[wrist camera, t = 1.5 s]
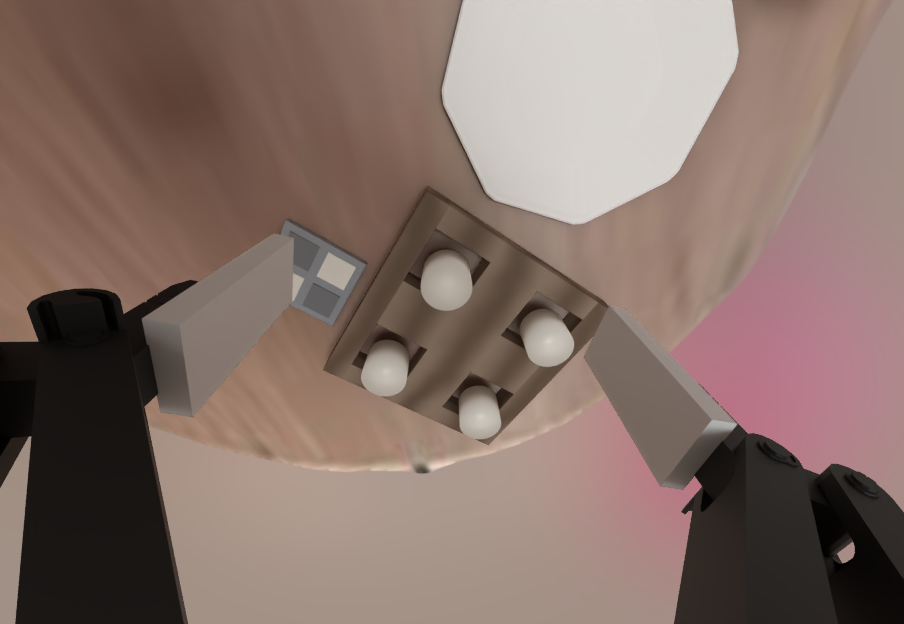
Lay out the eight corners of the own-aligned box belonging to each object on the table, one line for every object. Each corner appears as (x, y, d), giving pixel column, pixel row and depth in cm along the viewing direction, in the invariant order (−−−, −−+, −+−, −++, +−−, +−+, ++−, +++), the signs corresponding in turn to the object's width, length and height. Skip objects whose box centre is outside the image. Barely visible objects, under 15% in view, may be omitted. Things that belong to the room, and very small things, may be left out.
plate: (632, 240, 39) (638, 245, 37) (421, 176, 35) (420, 178, 34) (783, -39, 28) (800, -47, 27) (504, -170, 25) (507, -187, 23)
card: (259, 286, 40) (256, 289, 39) (288, 218, 37) (285, 220, 36) (333, 323, 42) (331, 326, 42) (367, 262, 39) (366, 265, 38)
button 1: (361, 362, 42) (353, 384, 38) (380, 332, 40) (373, 353, 36) (397, 379, 43) (393, 402, 39) (417, 351, 41) (414, 373, 37)
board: (330, 355, 45) (322, 369, 42) (428, 186, 35) (426, 191, 33) (486, 428, 51) (488, 445, 48) (604, 301, 42) (615, 313, 39)
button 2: (414, 278, 37) (411, 295, 33) (438, 240, 35) (438, 253, 31) (453, 300, 38) (454, 319, 34) (479, 265, 36) (482, 280, 33)
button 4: (510, 333, 40) (517, 353, 36) (537, 301, 38) (547, 319, 35) (544, 352, 41) (553, 373, 38) (571, 321, 39) (584, 341, 36)
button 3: (451, 405, 45) (451, 429, 41) (472, 379, 43) (475, 402, 39) (482, 420, 46) (485, 444, 43) (504, 395, 44) (509, 419, 41)
